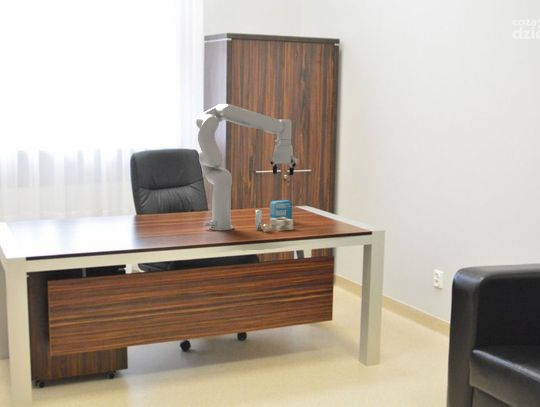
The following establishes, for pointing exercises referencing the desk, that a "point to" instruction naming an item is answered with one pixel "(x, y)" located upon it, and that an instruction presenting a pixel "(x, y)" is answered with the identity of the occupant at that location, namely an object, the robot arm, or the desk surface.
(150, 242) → the desk surface
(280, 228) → the pin block
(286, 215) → the data package
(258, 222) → the tall pin
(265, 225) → the short pin
